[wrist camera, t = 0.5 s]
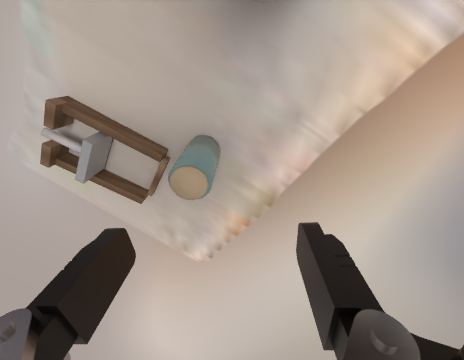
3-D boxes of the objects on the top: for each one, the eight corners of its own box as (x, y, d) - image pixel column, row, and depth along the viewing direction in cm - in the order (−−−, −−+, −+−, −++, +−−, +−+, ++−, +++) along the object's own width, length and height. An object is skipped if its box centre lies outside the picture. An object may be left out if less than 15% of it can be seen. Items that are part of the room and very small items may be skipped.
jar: (196, 128, 29) (176, 156, 21) (226, 145, 30) (218, 178, 22) (183, 155, 32) (160, 190, 23) (211, 170, 33) (199, 208, 24)
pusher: (61, 105, 28) (29, 113, 24) (114, 132, 30) (92, 144, 26) (56, 145, 32) (27, 158, 27) (104, 168, 33) (83, 183, 29)
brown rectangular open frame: (67, 95, 28) (45, 99, 25) (172, 151, 31) (164, 161, 28) (59, 154, 33) (40, 163, 30) (151, 197, 36) (142, 210, 33)
